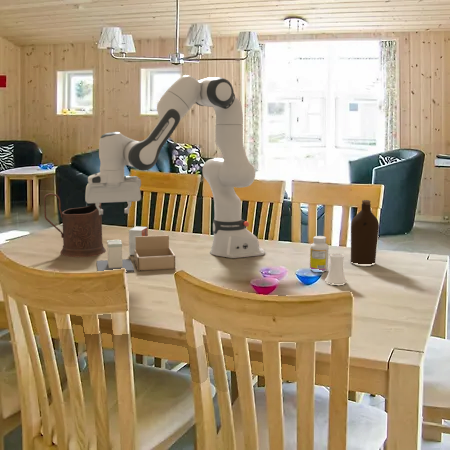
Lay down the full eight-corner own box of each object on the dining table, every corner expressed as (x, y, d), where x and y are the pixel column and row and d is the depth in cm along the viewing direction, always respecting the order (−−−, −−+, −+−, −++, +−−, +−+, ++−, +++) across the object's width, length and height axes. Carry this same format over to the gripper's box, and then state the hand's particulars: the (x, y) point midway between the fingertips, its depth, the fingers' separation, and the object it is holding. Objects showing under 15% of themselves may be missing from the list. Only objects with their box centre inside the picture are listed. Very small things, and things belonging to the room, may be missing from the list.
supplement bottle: (315, 267, 232) (316, 234, 230) (330, 270, 228) (332, 237, 226) (306, 270, 227) (307, 237, 225) (321, 274, 223) (323, 240, 221)
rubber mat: (130, 261, 239) (130, 259, 238) (134, 272, 223) (134, 269, 223) (96, 262, 236) (96, 260, 235) (98, 273, 220) (98, 271, 220)
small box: (142, 256, 247) (141, 230, 245) (129, 255, 248) (128, 229, 246) (148, 251, 254) (148, 226, 252) (135, 250, 255) (135, 226, 253)
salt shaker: (347, 280, 215) (348, 253, 213) (345, 286, 208) (347, 258, 206) (325, 279, 217) (327, 251, 215) (323, 285, 210) (325, 257, 208)
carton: (170, 259, 241) (170, 235, 239) (175, 268, 228) (175, 242, 226) (134, 261, 237) (134, 236, 235) (138, 270, 225) (137, 244, 223)
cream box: (121, 262, 233) (120, 239, 231) (122, 267, 226) (122, 243, 225) (107, 263, 232) (107, 240, 230) (108, 268, 225) (108, 244, 223)
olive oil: (381, 266, 235) (385, 202, 230) (357, 268, 232) (360, 203, 227) (367, 259, 245) (371, 198, 240) (344, 261, 242) (347, 199, 237)
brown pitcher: (109, 254, 248) (108, 194, 243) (48, 260, 239) (45, 197, 234) (101, 245, 265) (99, 188, 260) (44, 249, 256) (41, 190, 251)
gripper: (140, 174, 228) (141, 211, 231) (84, 176, 223) (86, 213, 226) (141, 177, 222) (143, 214, 225) (84, 179, 217) (86, 217, 220)
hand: (114, 214), depth 225 cm, fingers open, 8 cm apart
